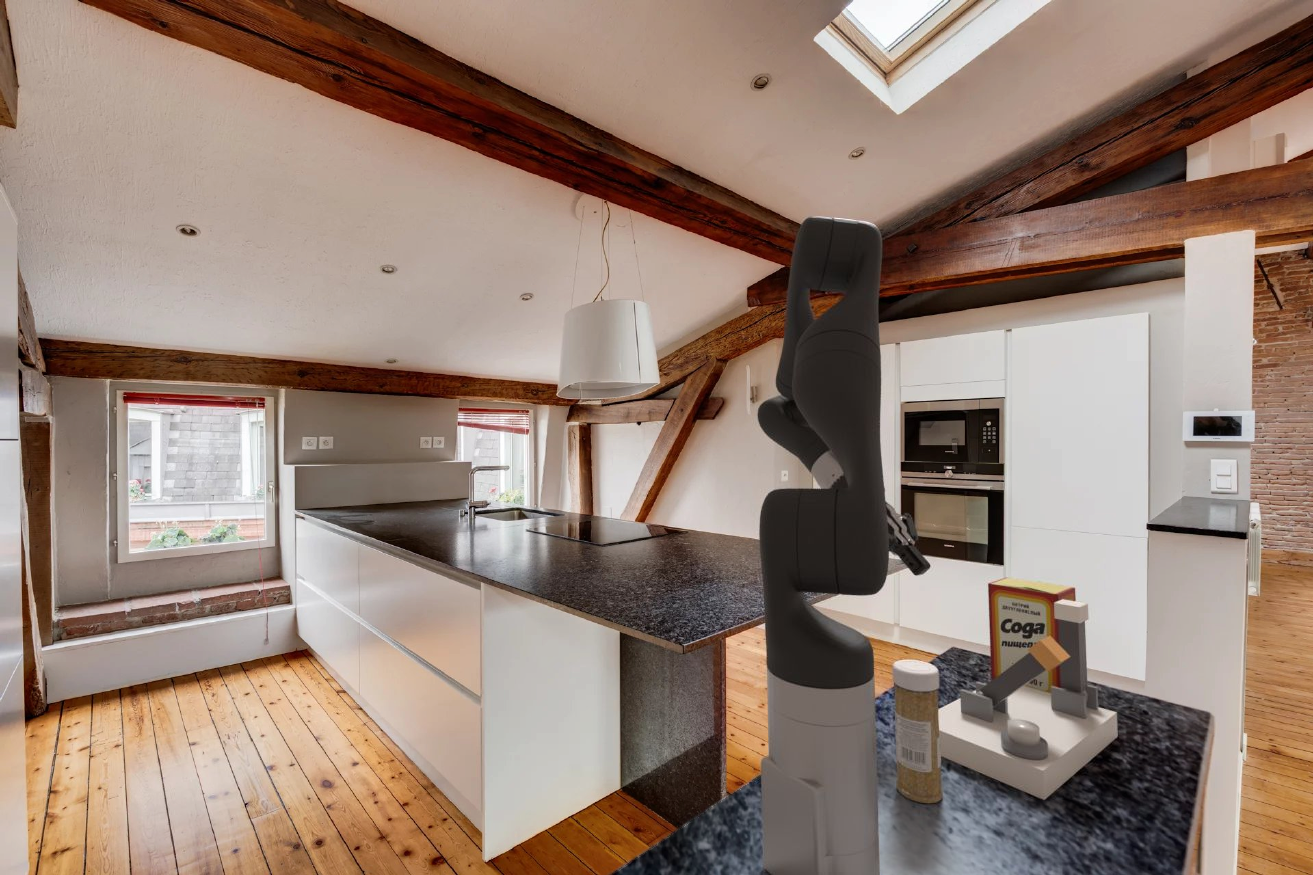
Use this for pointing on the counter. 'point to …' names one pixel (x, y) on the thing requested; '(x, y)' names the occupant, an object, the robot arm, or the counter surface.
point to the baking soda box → (1023, 624)
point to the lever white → (1073, 644)
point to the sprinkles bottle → (917, 730)
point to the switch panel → (1052, 729)
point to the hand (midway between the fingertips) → (923, 571)
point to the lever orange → (1025, 670)
